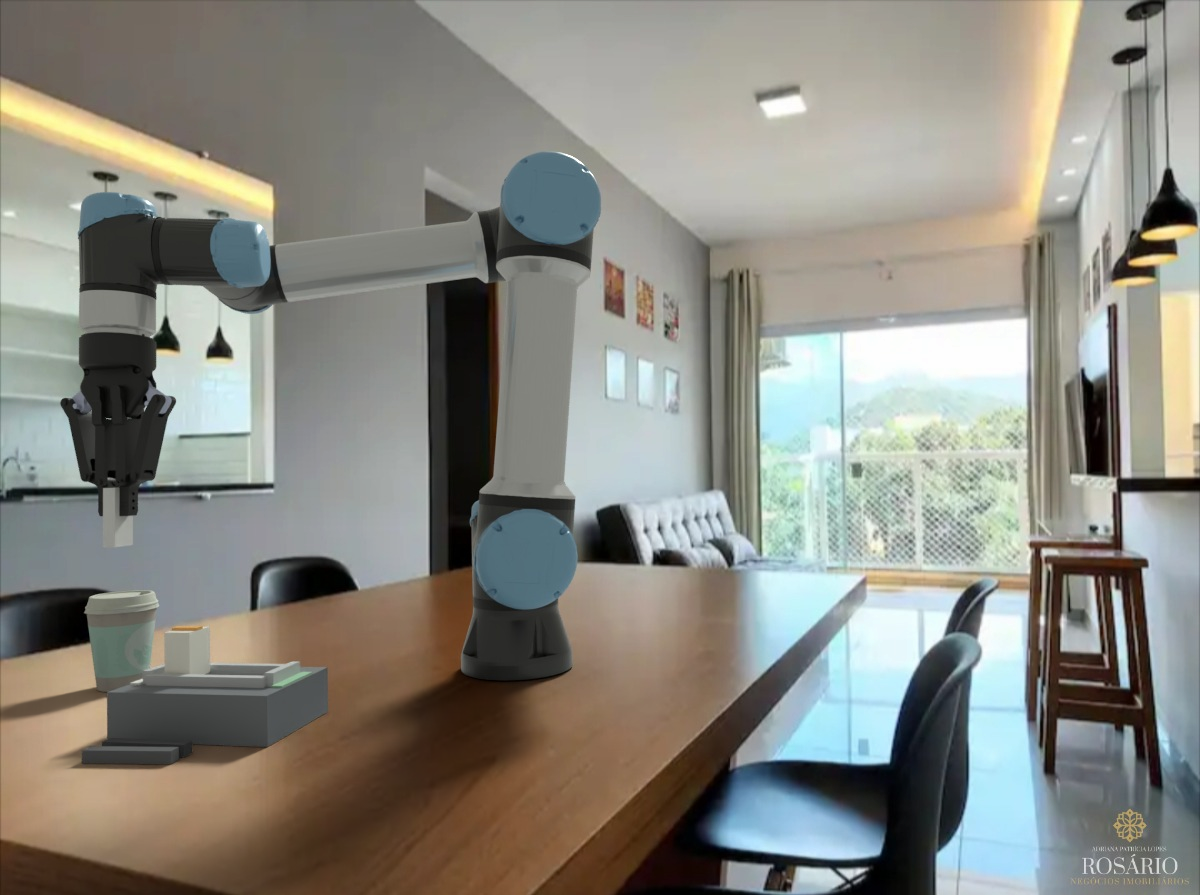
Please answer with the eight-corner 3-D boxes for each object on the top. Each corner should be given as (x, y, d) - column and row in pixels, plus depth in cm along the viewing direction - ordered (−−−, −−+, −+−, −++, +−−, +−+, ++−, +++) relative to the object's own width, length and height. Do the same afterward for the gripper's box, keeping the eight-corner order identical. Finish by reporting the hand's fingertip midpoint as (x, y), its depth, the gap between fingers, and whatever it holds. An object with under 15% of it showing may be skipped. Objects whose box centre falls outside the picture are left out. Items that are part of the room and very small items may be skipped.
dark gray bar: (178, 759, 78) (178, 746, 78) (171, 764, 77) (170, 751, 77) (90, 758, 79) (90, 746, 79) (81, 763, 78) (81, 750, 78)
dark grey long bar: (192, 752, 80) (192, 740, 80) (184, 757, 78) (184, 744, 79) (110, 750, 81) (110, 737, 81) (101, 754, 80) (101, 741, 80)
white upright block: (210, 672, 91) (209, 624, 91) (189, 679, 87) (189, 629, 88) (185, 671, 91) (185, 623, 91) (164, 679, 88) (164, 629, 88)
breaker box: (328, 711, 93) (327, 654, 93) (267, 746, 81) (266, 681, 81) (185, 708, 96) (185, 653, 96) (107, 741, 84) (106, 678, 84)
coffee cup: (126, 696, 102) (125, 599, 102) (68, 694, 104) (67, 599, 104) (174, 678, 110) (173, 589, 111) (120, 677, 112) (119, 589, 113)
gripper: (192, 338, 94) (193, 543, 94) (93, 343, 97) (92, 543, 96) (146, 326, 87) (146, 549, 86) (39, 332, 89) (38, 549, 89)
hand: (118, 546), depth 91 cm, fingers closed
